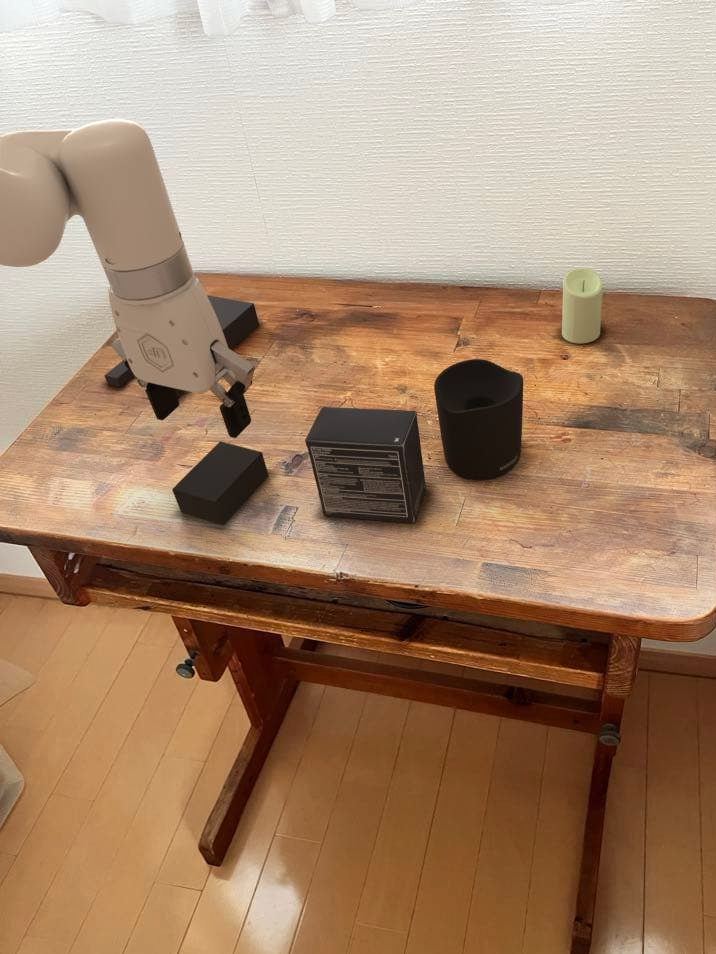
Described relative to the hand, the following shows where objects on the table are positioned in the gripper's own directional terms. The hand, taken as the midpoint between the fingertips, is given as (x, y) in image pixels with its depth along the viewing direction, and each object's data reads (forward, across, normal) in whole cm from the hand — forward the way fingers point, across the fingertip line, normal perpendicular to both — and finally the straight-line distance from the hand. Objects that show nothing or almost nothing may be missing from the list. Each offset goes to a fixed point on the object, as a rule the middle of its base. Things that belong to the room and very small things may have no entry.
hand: (204, 421), depth 88 cm
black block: (+10, 0, 0) cm, 10 cm away
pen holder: (+11, +25, +16) cm, 31 cm away
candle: (+11, +27, +44) cm, 52 cm away
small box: (+11, +17, +5) cm, 20 cm away
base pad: (+10, -24, +23) cm, 35 cm away
